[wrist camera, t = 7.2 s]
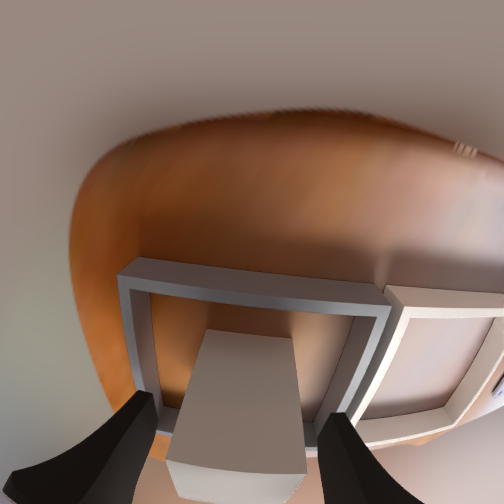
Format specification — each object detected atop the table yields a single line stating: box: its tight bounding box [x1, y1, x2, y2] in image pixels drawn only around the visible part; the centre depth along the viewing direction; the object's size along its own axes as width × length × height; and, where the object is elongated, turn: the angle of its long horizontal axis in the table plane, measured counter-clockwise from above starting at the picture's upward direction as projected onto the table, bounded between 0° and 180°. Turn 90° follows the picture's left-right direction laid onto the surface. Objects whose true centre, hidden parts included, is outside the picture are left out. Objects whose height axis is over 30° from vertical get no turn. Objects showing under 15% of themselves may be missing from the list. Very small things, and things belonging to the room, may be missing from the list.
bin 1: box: [117, 257, 392, 451], centre depth 12 cm, size 10×10×2 cm
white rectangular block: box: [165, 329, 307, 504], centre depth 10 cm, size 4×4×7 cm
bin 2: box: [345, 285, 504, 447], centre depth 12 cm, size 10×10×2 cm
